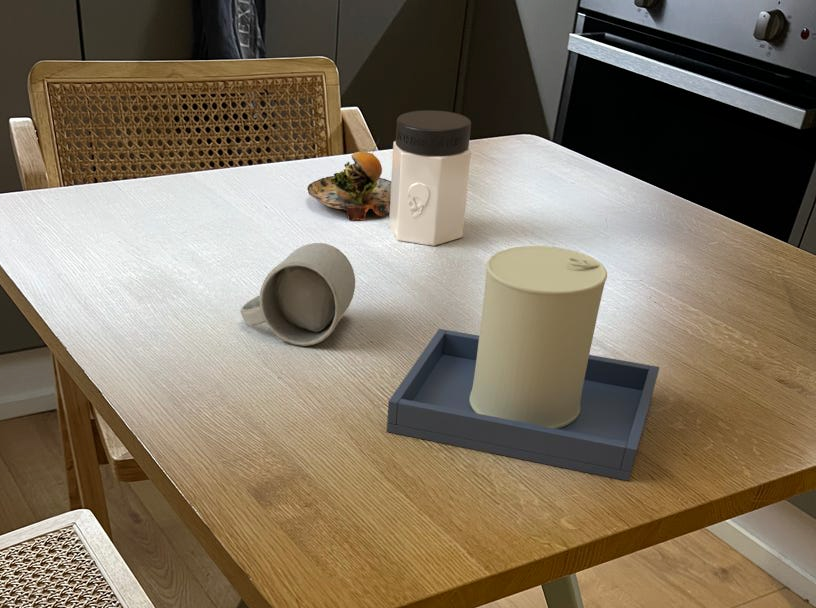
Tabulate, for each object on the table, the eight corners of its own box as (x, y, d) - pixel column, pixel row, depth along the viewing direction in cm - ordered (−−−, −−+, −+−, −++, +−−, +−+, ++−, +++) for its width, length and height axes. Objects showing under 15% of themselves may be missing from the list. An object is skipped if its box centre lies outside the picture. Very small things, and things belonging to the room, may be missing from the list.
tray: (652, 396, 84) (659, 366, 82) (628, 481, 74) (636, 449, 72) (436, 357, 89) (438, 328, 87) (386, 431, 79) (388, 400, 77)
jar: (377, 238, 111) (382, 124, 103) (399, 216, 117) (406, 106, 109) (452, 250, 109) (463, 134, 101) (471, 226, 115) (483, 115, 107)
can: (597, 426, 79) (630, 280, 71) (490, 437, 77) (511, 289, 69) (555, 374, 85) (580, 235, 77) (455, 383, 84) (470, 242, 76)
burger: (318, 185, 125) (318, 121, 120) (408, 193, 124) (412, 129, 119) (296, 216, 117) (296, 149, 112) (393, 224, 115) (397, 157, 110)
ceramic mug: (358, 315, 95) (360, 236, 90) (338, 351, 90) (338, 268, 84) (256, 305, 97) (252, 226, 92) (230, 339, 91) (223, 257, 86)
